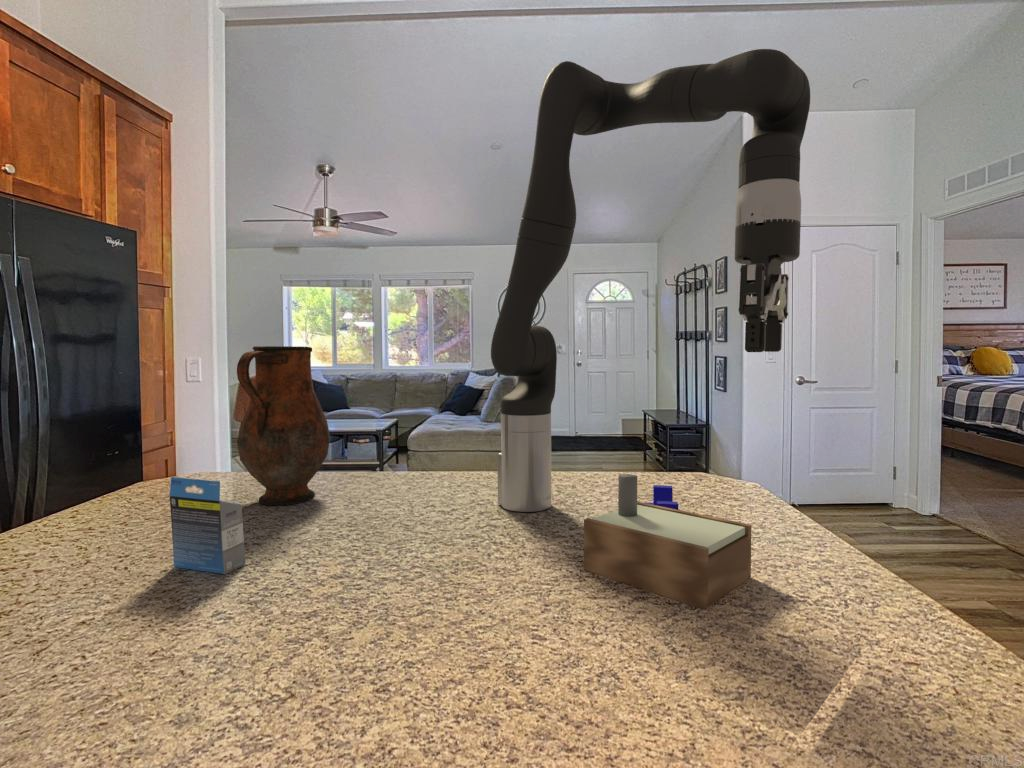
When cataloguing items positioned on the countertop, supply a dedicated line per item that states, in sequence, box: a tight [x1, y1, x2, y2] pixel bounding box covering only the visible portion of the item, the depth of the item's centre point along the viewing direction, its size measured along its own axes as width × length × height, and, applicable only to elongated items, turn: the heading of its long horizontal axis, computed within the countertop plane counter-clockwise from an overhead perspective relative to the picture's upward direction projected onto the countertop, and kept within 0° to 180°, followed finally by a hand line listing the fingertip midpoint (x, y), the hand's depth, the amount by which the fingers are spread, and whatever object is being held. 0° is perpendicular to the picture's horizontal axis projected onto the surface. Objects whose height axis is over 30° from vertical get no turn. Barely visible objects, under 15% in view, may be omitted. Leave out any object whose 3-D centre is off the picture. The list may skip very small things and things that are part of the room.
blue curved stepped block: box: [643, 484, 679, 510], centre depth 89 cm, size 12×4×6 cm, turn 169°
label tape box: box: [169, 475, 246, 575], centre depth 75 cm, size 9×4×12 cm, turn 71°
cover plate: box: [591, 473, 745, 554], centre depth 69 cm, size 15×10×6 cm, turn 45°
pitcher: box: [236, 345, 331, 506], centre depth 108 cm, size 17×21×30 cm
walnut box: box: [583, 501, 752, 611], centre depth 70 cm, size 16×12×7 cm
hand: (763, 351), depth 72 cm, fingers open, 8 cm apart
